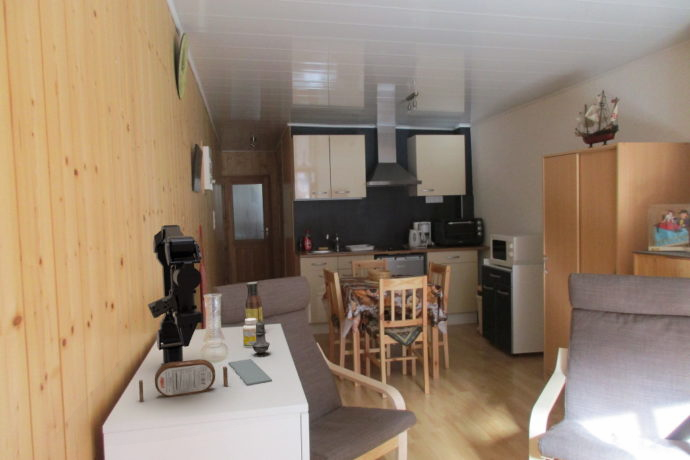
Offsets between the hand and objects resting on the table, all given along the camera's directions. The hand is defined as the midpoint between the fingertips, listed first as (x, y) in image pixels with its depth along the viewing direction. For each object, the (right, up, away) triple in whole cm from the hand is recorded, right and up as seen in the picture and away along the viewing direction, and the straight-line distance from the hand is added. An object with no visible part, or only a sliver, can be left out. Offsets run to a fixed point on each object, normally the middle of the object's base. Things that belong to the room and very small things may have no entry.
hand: (185, 345), depth 127 cm
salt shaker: (+14, -11, +33) cm, 37 cm away
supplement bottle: (+9, -11, +43) cm, 46 cm away
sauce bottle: (+7, -10, +61) cm, 62 cm away
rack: (0, -13, 0) cm, 13 cm away
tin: (0, -13, 0) cm, 13 cm away
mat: (+14, -12, +16) cm, 24 cm away
